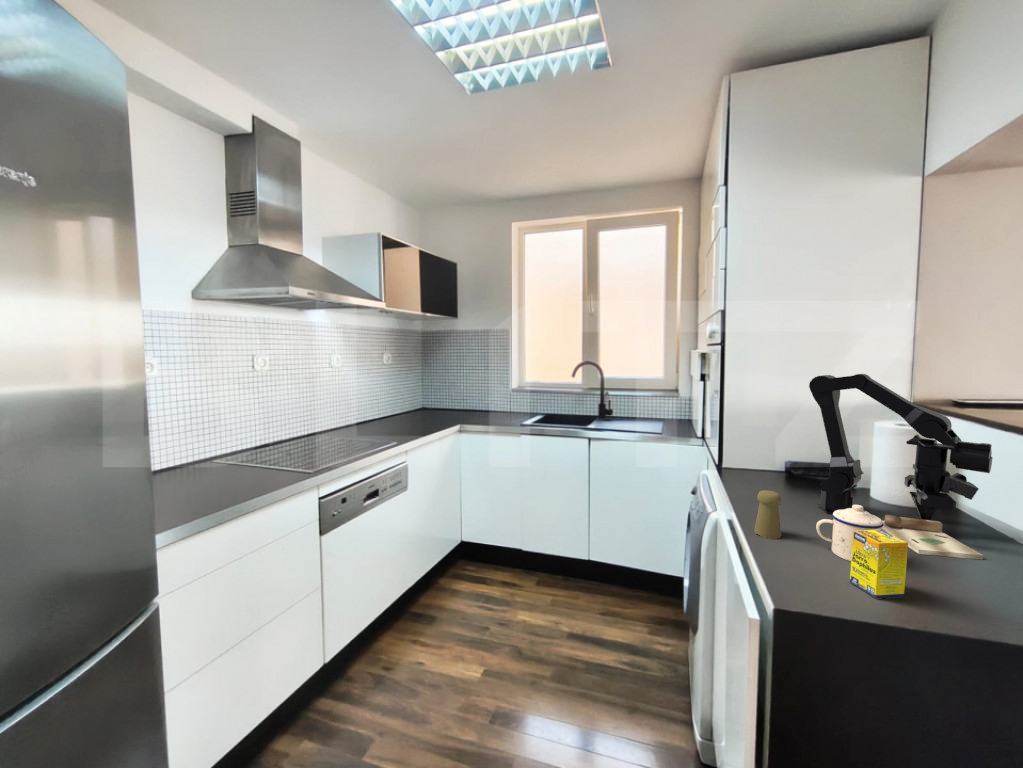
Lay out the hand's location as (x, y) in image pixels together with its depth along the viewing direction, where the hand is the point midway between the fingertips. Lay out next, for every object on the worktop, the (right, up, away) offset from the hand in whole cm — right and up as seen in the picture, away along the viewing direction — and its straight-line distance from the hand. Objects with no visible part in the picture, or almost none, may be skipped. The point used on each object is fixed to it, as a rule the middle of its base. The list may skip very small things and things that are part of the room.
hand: (925, 523), depth 113 cm
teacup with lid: (-29, -3, -12) cm, 31 cm away
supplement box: (-35, -5, -27) cm, 44 cm away
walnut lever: (-4, -1, 0) cm, 4 cm away
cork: (-41, -3, -1) cm, 41 cm away
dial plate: (-5, -3, -4) cm, 7 cm away
